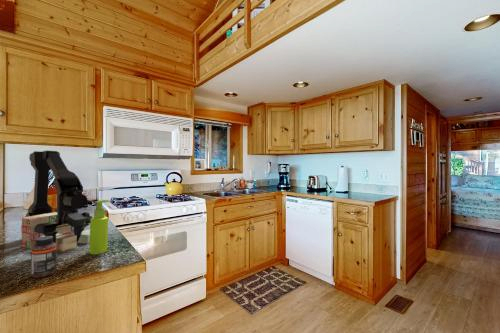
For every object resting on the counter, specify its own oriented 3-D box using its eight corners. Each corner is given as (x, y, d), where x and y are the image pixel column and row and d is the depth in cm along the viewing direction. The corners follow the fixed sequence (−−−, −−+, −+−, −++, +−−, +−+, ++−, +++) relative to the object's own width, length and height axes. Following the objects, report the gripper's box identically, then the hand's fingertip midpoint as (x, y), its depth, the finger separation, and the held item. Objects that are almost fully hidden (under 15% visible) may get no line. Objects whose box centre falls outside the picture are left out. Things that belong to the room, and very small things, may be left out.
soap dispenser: (113, 249, 93) (114, 199, 93) (96, 255, 86) (97, 202, 87) (102, 247, 95) (103, 199, 95) (85, 253, 88) (86, 201, 88)
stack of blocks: (75, 233, 114) (76, 208, 114) (84, 234, 112) (85, 209, 112) (20, 247, 94) (21, 217, 94) (30, 249, 92) (30, 218, 92)
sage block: (73, 242, 101) (73, 233, 101) (90, 237, 109) (90, 228, 109) (87, 244, 99) (88, 235, 99) (103, 238, 107) (103, 230, 107)
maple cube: (54, 250, 91) (54, 237, 91) (68, 246, 96) (68, 234, 96) (63, 251, 90) (63, 239, 90) (76, 247, 94) (76, 235, 94)
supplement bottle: (41, 269, 74) (42, 234, 74) (61, 269, 74) (62, 234, 74) (25, 278, 68) (25, 240, 68) (46, 278, 68) (47, 240, 68)
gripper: (53, 212, 81) (52, 256, 81) (102, 204, 99) (102, 240, 99) (33, 209, 85) (32, 251, 85) (84, 202, 103) (83, 237, 103)
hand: (65, 244), depth 93 cm, fingers open, 8 cm apart
